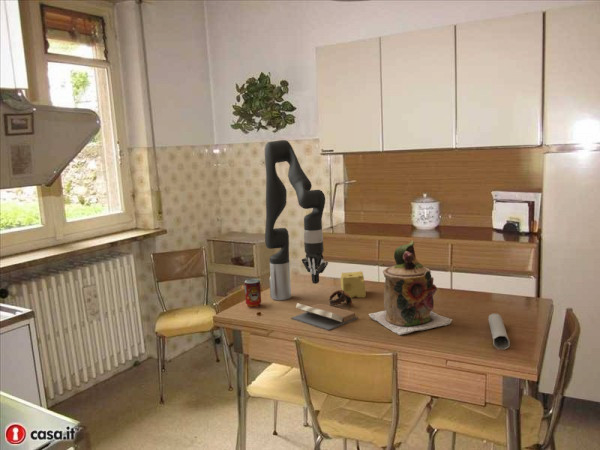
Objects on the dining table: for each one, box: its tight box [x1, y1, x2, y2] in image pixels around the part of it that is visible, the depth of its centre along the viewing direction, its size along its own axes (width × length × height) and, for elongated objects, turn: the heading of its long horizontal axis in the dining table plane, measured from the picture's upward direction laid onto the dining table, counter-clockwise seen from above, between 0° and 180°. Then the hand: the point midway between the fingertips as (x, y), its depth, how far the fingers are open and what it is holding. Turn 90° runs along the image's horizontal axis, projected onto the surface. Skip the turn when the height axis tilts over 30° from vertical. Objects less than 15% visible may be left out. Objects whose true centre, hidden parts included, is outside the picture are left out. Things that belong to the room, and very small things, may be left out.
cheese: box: [340, 271, 366, 299], centre depth 235 cm, size 10×11×10 cm
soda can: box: [244, 277, 262, 309], centre depth 226 cm, size 7×7×12 cm
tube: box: [488, 313, 511, 350], centre depth 179 cm, size 5×5×25 cm
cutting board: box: [291, 302, 358, 332], centre depth 205 cm, size 21×17×3 cm
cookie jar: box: [368, 240, 453, 336], centre depth 196 cm, size 25×25×32 cm
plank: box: [295, 302, 343, 322], centre depth 203 cm, size 20×7×2 cm, turn 44°
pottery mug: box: [328, 289, 353, 308], centre depth 220 cm, size 12×10×8 cm
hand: (315, 283), depth 200 cm, fingers closed
